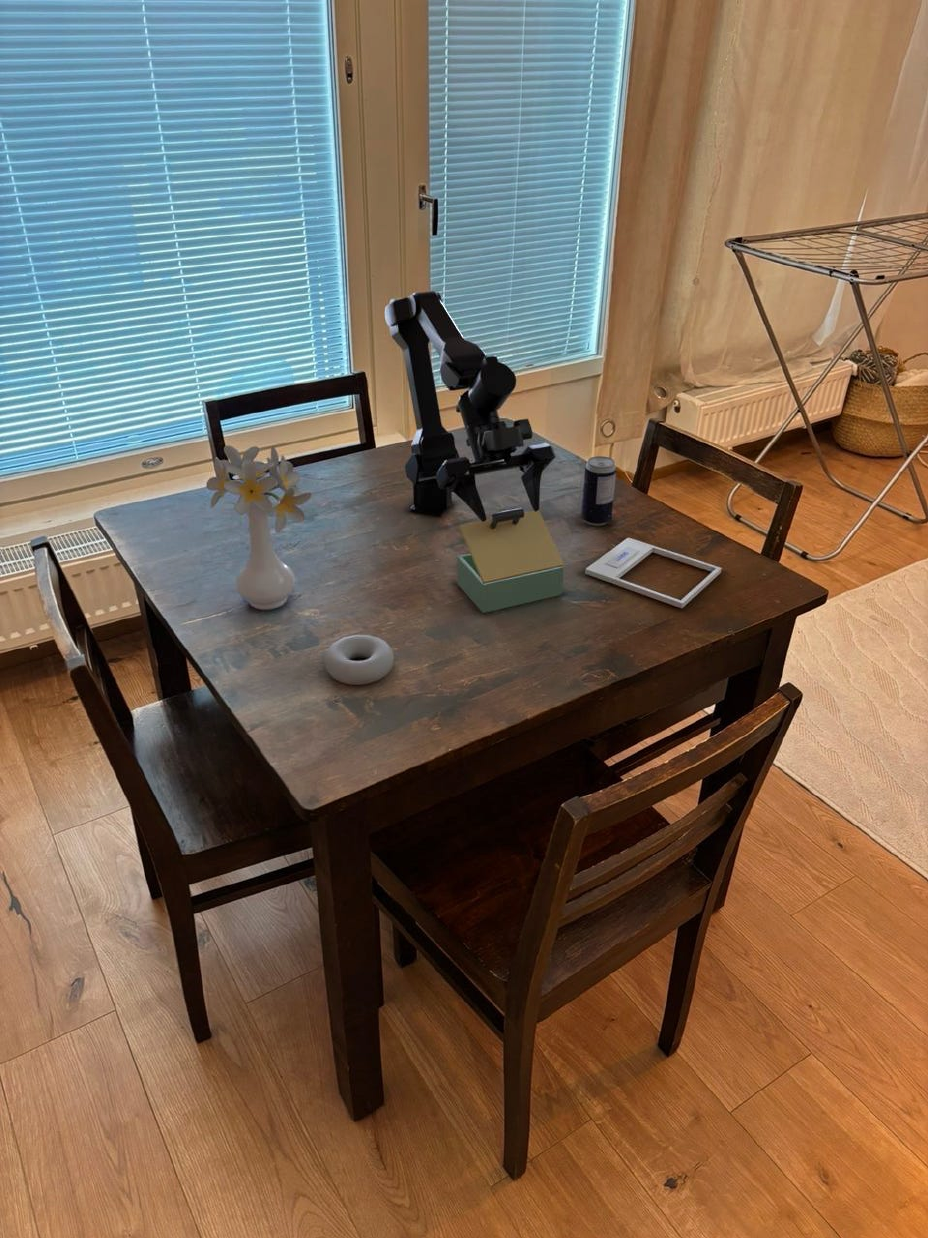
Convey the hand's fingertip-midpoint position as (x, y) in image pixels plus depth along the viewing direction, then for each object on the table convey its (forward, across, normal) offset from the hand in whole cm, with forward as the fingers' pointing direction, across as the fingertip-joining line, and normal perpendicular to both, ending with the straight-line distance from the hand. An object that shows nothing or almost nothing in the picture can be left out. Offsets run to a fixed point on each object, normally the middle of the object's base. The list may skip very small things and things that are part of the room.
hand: (511, 515), depth 145 cm
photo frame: (+13, +25, +6) cm, 29 cm away
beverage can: (-2, +26, +21) cm, 33 cm away
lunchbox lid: (+4, 0, +3) cm, 5 cm away
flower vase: (+1, -36, +18) cm, 41 cm away
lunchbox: (+10, 0, +9) cm, 13 cm away
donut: (+18, -30, +1) cm, 35 cm away
